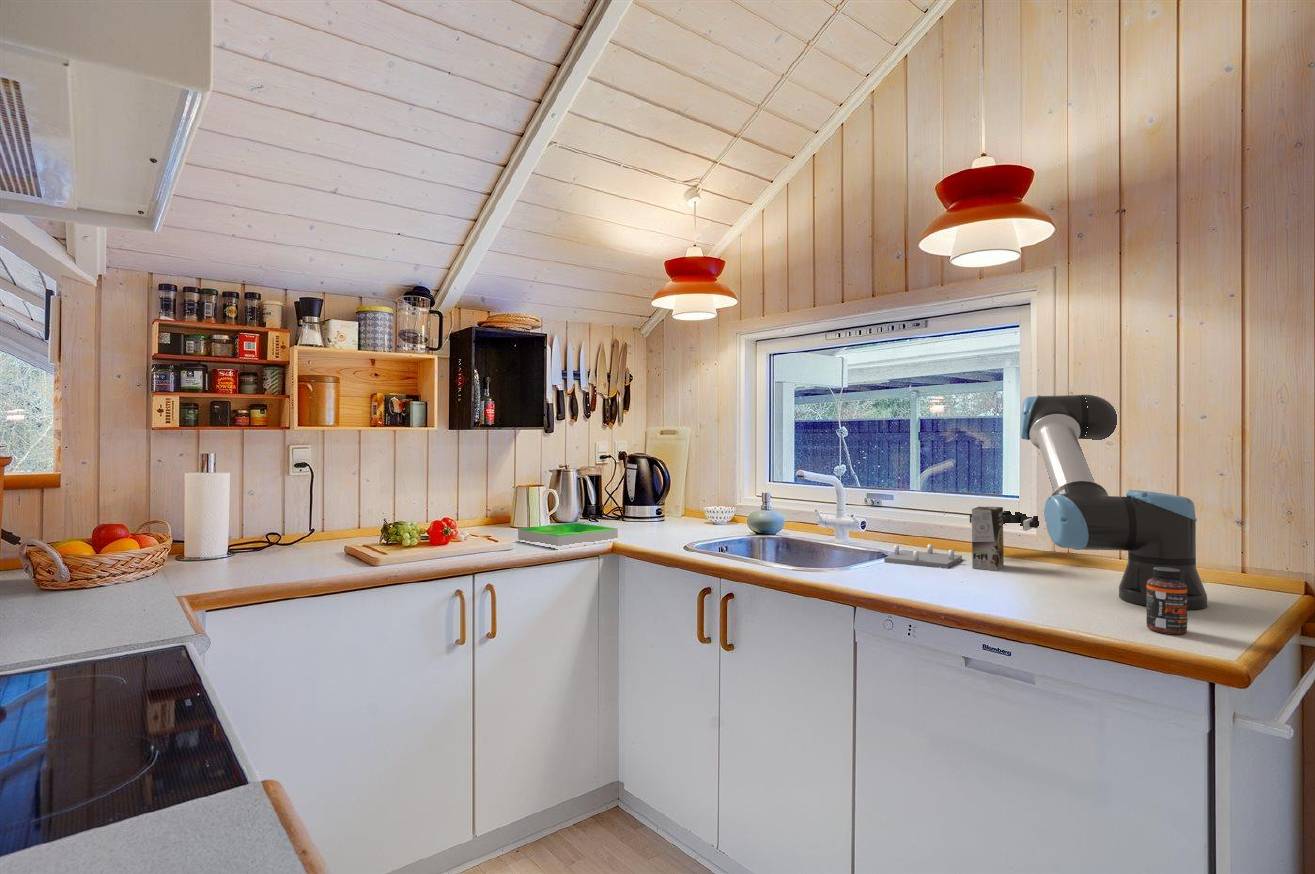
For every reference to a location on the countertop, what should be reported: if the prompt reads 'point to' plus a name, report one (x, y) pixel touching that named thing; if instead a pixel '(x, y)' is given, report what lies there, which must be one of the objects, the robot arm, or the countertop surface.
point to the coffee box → (987, 538)
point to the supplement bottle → (1167, 602)
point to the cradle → (923, 557)
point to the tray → (567, 533)
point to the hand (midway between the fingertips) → (998, 523)
